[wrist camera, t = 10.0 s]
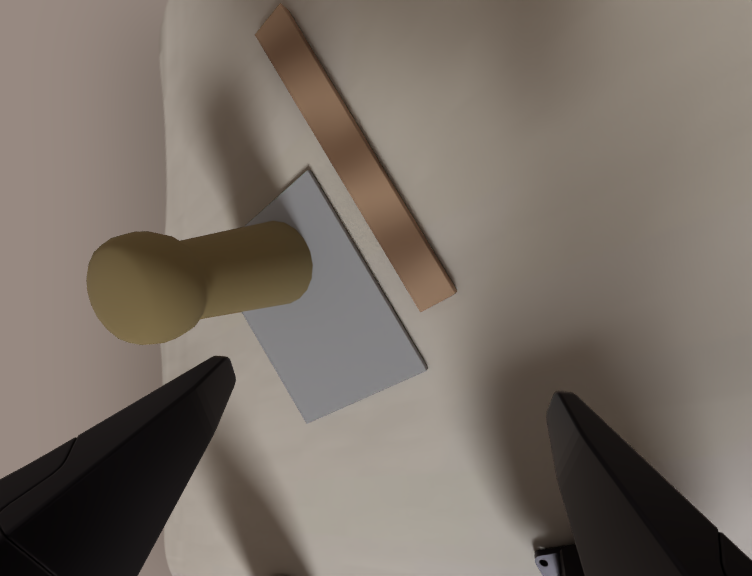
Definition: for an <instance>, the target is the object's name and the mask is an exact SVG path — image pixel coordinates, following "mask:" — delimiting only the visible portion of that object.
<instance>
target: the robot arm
mask: <svg viewBox="0 0 752 576" xmlns="http://www.w3.org/2000/svg"><path fill="white" fill-rule="evenodd" d="M235 382H236V377H235V373H234V370H233V367H232V364H231V361H230V359H229V358H228V357H224V356H213V357H211V358H209V359H208V360H206V361H204V362H203V363H201V364H199V365H197V366H196V367H194V368H192V369H191V370H189V371H187V372H186V373H184V374H182V375H180V376H179V377H177V378H175V379H174V380H172V381H170V382H168V383H167V384H165V385H163V386H162V387H160V388H158V389H157V390H155V391H153V392H151V393H150V394H148V395H147V396H145V397H143V398H141V399H140V400H138V401H136V402H135V403H133V404H131V405H129V406H128V407H126V408H124V409H123V410H121V411H119V412H117V413H116V414H114V415H112V416H111V417H109V418H107V419H105V420H104V421H102V422H100V423H99V424H97V425H95V426H94V427H92V428H90V429H89V430H87V431H85V432H83V433H82V434H80V435H78V437H77V438H73V439H71V440H70V441H68V442H66V443H64V444H63V445H61V446H59V447H58V448H56V449H54V450H52V451H51V452H49V453H47V454H45V455H44V456H42V457H40V458H38V459H37V460H35V461H33V462H31V463H30V464H28V465H26V466H24V467H22V468H20V469H18V470H17V471H15V472H13V473H11V474H9V475H7V476H5V477H4V478H2V479H0V576H138V574H139V572H140V570H141V569H142V567H143V565H144V563H145V561H146V559H147V558H148V556H149V554H150V552H151V550H152V548H153V546H154V544H155V543H156V541H157V539H158V537H159V535H160V533H161V531H162V529H163V528H164V526H165V524H166V522H167V520H168V519H169V517H170V515H171V513H172V511H173V509H174V507H175V506H176V504H177V502H178V500H179V498H180V496H181V494H182V493H183V491H184V489H185V487H186V485H187V483H188V482H189V480H190V478H191V476H192V474H193V472H194V470H195V469H196V467H197V465H198V463H199V461H200V459H201V457H202V456H203V454H204V452H205V450H206V448H207V446H208V444H209V443H210V441H211V439H212V437H213V435H214V433H215V431H216V428H217V426H218V424H219V421H220V419H221V417H222V414H223V412H224V409H225V407H226V405H227V402H228V400H229V397H230V395H231V393H232V390H233V388H234V385H235ZM546 418H547V425H548V431H549V437H550V442H551V448H552V454H553V459H554V465H555V471H556V476H557V480H558V484H559V488H560V492H561V495H562V499H563V502H564V505H565V509H566V512H567V516H568V519H569V523H570V526H571V529H572V533H573V536H574V540H575V543H576V544H575V545H568V546H562V547H556V548H549V549H543V550H538V551H536V552H535V555H534V556H535V563H536V565H537V567H538V568H539V570H540V572H541V574H542V575H543V576H752V560H751V559H750V558H749V557H748V556H747V555H745V554H744V553H743V552H742V551H741V550H740V549H739V548H738V547H737V546H736V545H735V544H734V543H733V542H732V541H731V540H729V539H728V538H727V537H726V536H725V535H724V534H723V533H721V532H718V529H717V527H716V526H714V525H713V524H712V523H711V522H710V521H709V520H708V519H707V518H706V517H705V516H704V515H703V514H702V513H701V512H700V511H699V510H698V509H696V508H695V507H694V506H693V505H692V504H691V503H690V502H689V501H688V500H687V499H686V498H685V497H684V496H683V495H682V494H681V493H679V492H678V491H677V490H676V489H675V488H674V487H673V486H672V485H671V484H670V483H669V482H668V481H667V480H666V479H665V478H664V477H663V476H661V475H660V474H659V473H658V472H657V471H656V470H655V469H654V468H653V467H652V466H651V465H650V464H649V463H648V462H647V461H646V460H645V459H643V458H642V457H641V456H640V455H639V454H638V453H637V452H636V451H635V450H634V449H633V448H632V447H631V446H630V445H629V444H628V443H627V442H625V441H624V440H623V439H622V438H621V437H620V436H619V435H618V434H617V433H616V432H615V431H614V430H613V429H612V428H611V427H610V426H608V425H607V424H606V423H605V422H604V421H603V420H602V419H601V418H600V417H599V416H598V415H597V414H596V413H595V412H594V411H593V410H592V409H590V408H589V407H588V406H587V405H586V404H585V403H584V402H583V401H582V400H581V399H580V398H579V397H578V396H577V395H575V394H574V393H572V392H564V391H556V392H555V393H554V395H553V397H552V400H551V402H550V405H549V408H548V410H547V416H546ZM541 559H543V560H546V561H543V560H541Z"/></svg>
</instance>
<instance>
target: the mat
mask: <svg viewBox="0 0 752 576" xmlns="http://www.w3.org/2000/svg"><path fill="white" fill-rule="evenodd" d="M269 221H278V222H284V223H286V224H288V225H290V226H291V227H293V228H295V229H296V230H297V231H298V232H299V234H300V235H301V236H302V237H303V238H304V240H305V242H306V244H307V246H308V248H309V250H310V253H311V258H312V263H313V269H312V279H311V281H310V284H309V286H308V289H307V291H306V292H305V293H304V294H303V295H302V296H301V298H300V299H298V300H296V301H294V302H292V303H290V304H284V305H279V306H273V307H267V308H261V309H256V310H250V311H244V312H242V313H243V315H244V317H245V319H246V320H247V322H248V324H249V326H250V327H251V329H252V331H253V332H254V334H255V336H256V338H257V339H258V341H259V343H260V344H261V346H262V348H263V350H264V351H265V353H266V355H267V356H268V358H269V360H270V362H271V363H272V365H273V367H274V369H275V370H276V372H277V374H278V375H279V377H280V379H281V381H282V382H283V384H284V386H285V387H286V389H287V391H288V393H289V394H290V396H291V398H292V399H293V401H294V403H295V405H296V406H297V408H298V410H299V411H300V413H301V415H302V417H303V418H304V420H305V422H306V424H307V423H310V422H312V421H314V420H316V419H319V418H321V417H323V416H326V415H328V414H330V413H332V412H335V411H337V410H339V409H341V408H344V407H346V406H348V405H350V404H353V403H355V402H357V401H359V400H362V399H364V398H366V397H368V396H371V395H373V394H375V393H377V392H380V391H382V390H384V389H386V388H389V387H391V386H393V385H395V384H398V383H400V382H402V381H404V380H407V379H409V378H411V377H413V376H416V375H418V374H420V373H422V372H425V371H427V369H428V367H427V365H426V364H425V362H424V360H423V359H422V357H421V355H420V354H419V352H418V350H417V349H416V347H415V345H414V344H413V342H412V340H411V339H410V337H409V335H408V333H407V332H406V330H405V328H404V327H403V325H402V323H401V322H400V320H399V318H398V317H397V315H396V313H395V312H394V310H393V308H392V307H391V305H390V303H389V302H388V300H387V298H386V296H385V295H384V293H383V291H382V290H381V288H380V286H379V285H378V283H377V281H376V280H375V278H374V276H373V275H372V273H371V271H370V270H369V268H368V266H367V265H366V263H365V261H364V259H363V258H362V256H361V254H360V253H359V251H358V249H357V248H356V246H355V244H354V243H353V241H352V239H351V238H350V236H349V234H348V233H347V231H346V229H345V228H344V226H343V224H342V222H341V221H340V219H339V217H338V216H337V214H336V212H335V211H334V209H333V207H332V206H331V204H330V202H329V201H328V199H327V197H326V196H325V194H324V192H323V191H322V189H321V187H320V185H319V184H318V182H317V180H316V179H315V177H314V175H313V174H312V172H311V171H309V170H307V171H306V172H305V173H304V174H302V175H301V176H300V177H299V178H298V179H297V180H296V181H295V182H294V183H292V184H291V185H290V186H289V187H288V188H287V189H286V190H285V191H283V192H282V193H281V194H280V195H279V196H278V197H277V198H276V199H274V200H273V201H272V202H271V203H270V204H269V205H268V206H267V207H265V208H264V209H263V210H262V211H261V212H260V213H259V214H258V215H256V216H255V217H254V218H253V219H252V220H251V221H250V222H249V223H247V224H246V225H245V226H244V227H246V226H250V225H255V224H260V223H264V222H269Z"/></svg>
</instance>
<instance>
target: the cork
mask: <svg viewBox="0 0 752 576" xmlns="http://www.w3.org/2000/svg"><path fill="white" fill-rule="evenodd" d="M312 269H313V263H312V258H311V253H310V250H309V248H308V246H307V244H306V242H305V240H304V238H303V237H302V236H301V235H300V234H299V232H298V231H297V230H296V229H295V228H293V227H291V226H290V225H288V224H286V223H284V222H278V221H269V222H264V223H260V224H255V225H250V226H246V227H241V228H237V229H232V230H227V231H223V232H218V233H214V234H209V235H204V236H200V237H195V238H191V239H186V240H181V241H179V240H177V239H175V238H174V237H172V236H167V235H162V234H158V233H153V232H148V231H146V232H145V231H144V232H132V233H128V234H124V235H120V236H117V237H114V238H111V239H109V240H108V241H107V242H105V243H104V244H102V245H101V246H100V247H99V248H98V249H97V250H96V251H95V252H94V253H93V255H92V258H91V260H90V262H89V266H88V272H87V291H88V295H89V299H90V302H91V305H92V307H93V309H94V311H95V313H96V315H97V317H98V319H99V320H100V321H101V322H102V324H103V325H104V326H105V327H106V328H107V330H109V331H110V332H111V333H112V334H113V335H115V336H116V337H117V338H118V339H121V340H124V341H126V342H129V343H135V344H139V345H146V344H158V343H165V342H168V341H170V340H173V339H176V338H177V337H179V336H181V335H183V334H184V333H186V332H187V331H189V330H190V329H192V328H193V327H195V326H196V324H197V323H198V321H199V320H200V319H204V318H209V317H215V316H221V315H227V314H233V313H238V312H244V311H250V310H256V309H261V308H267V307H273V306H279V305H284V304H290V303H292V302H294V301H296V300H298V299H300V298H301V296H302V295H303V294H304V293H305V292H306V291H307V289H308V286H309V284H310V281H311V279H312Z"/></svg>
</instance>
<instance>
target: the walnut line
mask: <svg viewBox="0 0 752 576" xmlns="http://www.w3.org/2000/svg"><path fill="white" fill-rule="evenodd" d="M255 36H256V38H257V39H258V41H259V43H260V44H261V46H262V48H263V49H264V51H265V53H266V54H267V56H268V58H269V59H270V61H271V63H272V64H273V66H274V68H275V69H276V71H277V73H278V74H279V76H280V78H281V79H282V81H283V83H284V84H285V86H286V88H287V89H288V91H289V93H290V95H291V96H292V98H293V100H294V101H295V103H296V105H297V106H298V108H299V110H300V111H301V113H302V115H303V116H304V118H305V120H306V121H307V123H308V125H309V126H310V128H311V130H312V131H313V133H314V135H315V136H316V138H317V140H318V141H319V143H320V145H321V146H322V148H323V150H324V151H325V153H326V155H327V157H328V158H329V160H330V162H331V163H332V165H333V167H334V168H335V170H336V172H337V173H338V175H339V177H340V178H341V180H342V182H343V183H344V185H345V187H346V188H347V190H348V192H349V193H350V195H351V197H352V198H353V200H354V202H355V203H356V205H357V207H358V208H359V210H360V212H361V213H362V215H363V217H364V219H365V220H366V222H367V224H368V225H369V227H370V229H371V230H372V232H373V234H374V235H375V237H376V239H377V240H378V242H379V244H380V245H381V247H382V249H383V250H384V252H385V254H386V255H387V257H388V259H389V260H390V262H391V264H392V265H393V267H394V269H395V270H396V272H397V274H398V275H399V277H400V279H401V281H402V282H403V284H404V286H405V287H406V289H407V291H408V292H409V294H410V296H411V297H412V299H413V301H414V302H415V304H416V306H417V307H418V309H419V311H420V312H422V311H424V310H426V309H428V308H429V307H431V306H433V305H435V304H437V303H439V302H441V301H443V300H444V299H446V298H448V297H450V296H452V295H454V294H455V293H456V292H457V290H456V288H455V287H454V285H453V283H452V282H451V280H450V278H449V277H448V275H447V273H446V272H445V270H444V268H443V267H442V265H441V263H440V262H439V260H438V258H437V257H436V255H435V253H434V252H433V250H432V248H431V247H430V245H429V243H428V242H427V240H426V238H425V237H424V235H423V233H422V232H421V230H420V228H419V227H418V225H417V223H416V222H415V220H414V218H413V217H412V215H411V213H410V212H409V210H408V208H407V207H406V205H405V203H404V202H403V200H402V198H401V197H400V195H399V193H398V192H397V190H396V188H395V187H394V185H393V183H392V182H391V180H390V178H389V177H388V175H387V173H386V172H385V170H384V168H383V167H382V165H381V163H380V162H379V160H378V158H377V157H376V155H375V154H374V152H373V150H372V149H371V147H370V145H369V144H368V142H367V140H366V139H365V137H364V135H363V134H362V132H361V130H360V129H359V127H358V125H357V124H356V122H355V120H354V119H353V117H352V115H351V114H350V112H349V110H348V109H347V107H346V105H345V104H344V102H343V100H342V99H341V97H340V95H339V94H338V92H337V90H336V89H335V87H334V85H333V84H332V82H331V80H330V79H329V77H328V75H327V74H326V72H325V70H324V69H323V67H322V65H321V64H320V62H319V60H318V59H317V57H316V55H315V54H314V52H313V50H312V49H311V47H310V45H309V44H308V42H307V40H306V39H305V37H304V35H303V34H302V32H301V30H300V29H299V27H298V25H297V24H296V22H295V20H294V19H293V17H292V15H291V14H290V12H289V10H287V9H286V8H285V7H284V6H283V5H282V4H281V3H280V4H279V5H278V6H277V8H276V9H275V10H274V11H273V13H272V14H271V15H270V16H269V18H268V19H267V20H266V21H265V23H264V24H263V25H262V26H261V28H260V29H259V30H258V31H257V33H256V34H255Z"/></svg>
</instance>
